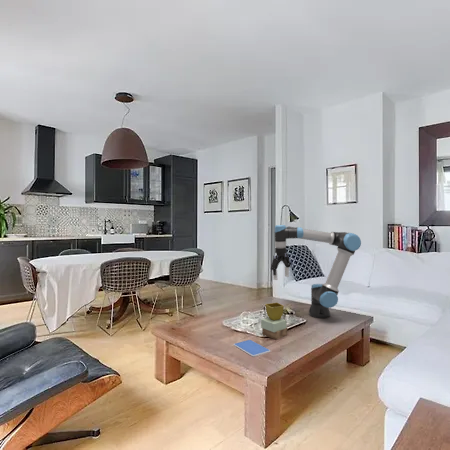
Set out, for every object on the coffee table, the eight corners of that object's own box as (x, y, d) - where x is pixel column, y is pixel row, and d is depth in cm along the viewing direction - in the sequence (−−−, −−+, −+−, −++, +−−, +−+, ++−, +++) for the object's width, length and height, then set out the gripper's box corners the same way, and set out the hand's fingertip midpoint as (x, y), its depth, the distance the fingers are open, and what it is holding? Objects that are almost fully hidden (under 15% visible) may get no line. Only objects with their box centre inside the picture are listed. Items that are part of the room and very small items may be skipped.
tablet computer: (232, 345, 187) (232, 343, 187) (250, 341, 194) (250, 338, 194) (253, 358, 171) (252, 355, 171) (271, 352, 178) (271, 350, 177)
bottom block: (273, 331, 210) (273, 323, 209) (287, 335, 202) (287, 327, 201) (262, 335, 202) (262, 327, 202) (276, 340, 194) (276, 332, 194)
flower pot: (271, 322, 197) (271, 307, 197) (265, 317, 205) (264, 303, 205) (284, 320, 200) (284, 305, 200) (277, 316, 208) (277, 302, 208)
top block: (273, 323, 209) (273, 315, 209) (286, 328, 201) (286, 320, 201) (261, 327, 202) (261, 319, 202) (274, 332, 194) (274, 324, 194)
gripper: (286, 245, 234) (286, 274, 235) (265, 249, 217) (265, 280, 217) (295, 246, 229) (295, 275, 230) (274, 249, 211) (275, 281, 212)
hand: (281, 278), depth 224 cm, fingers open, 13 cm apart
